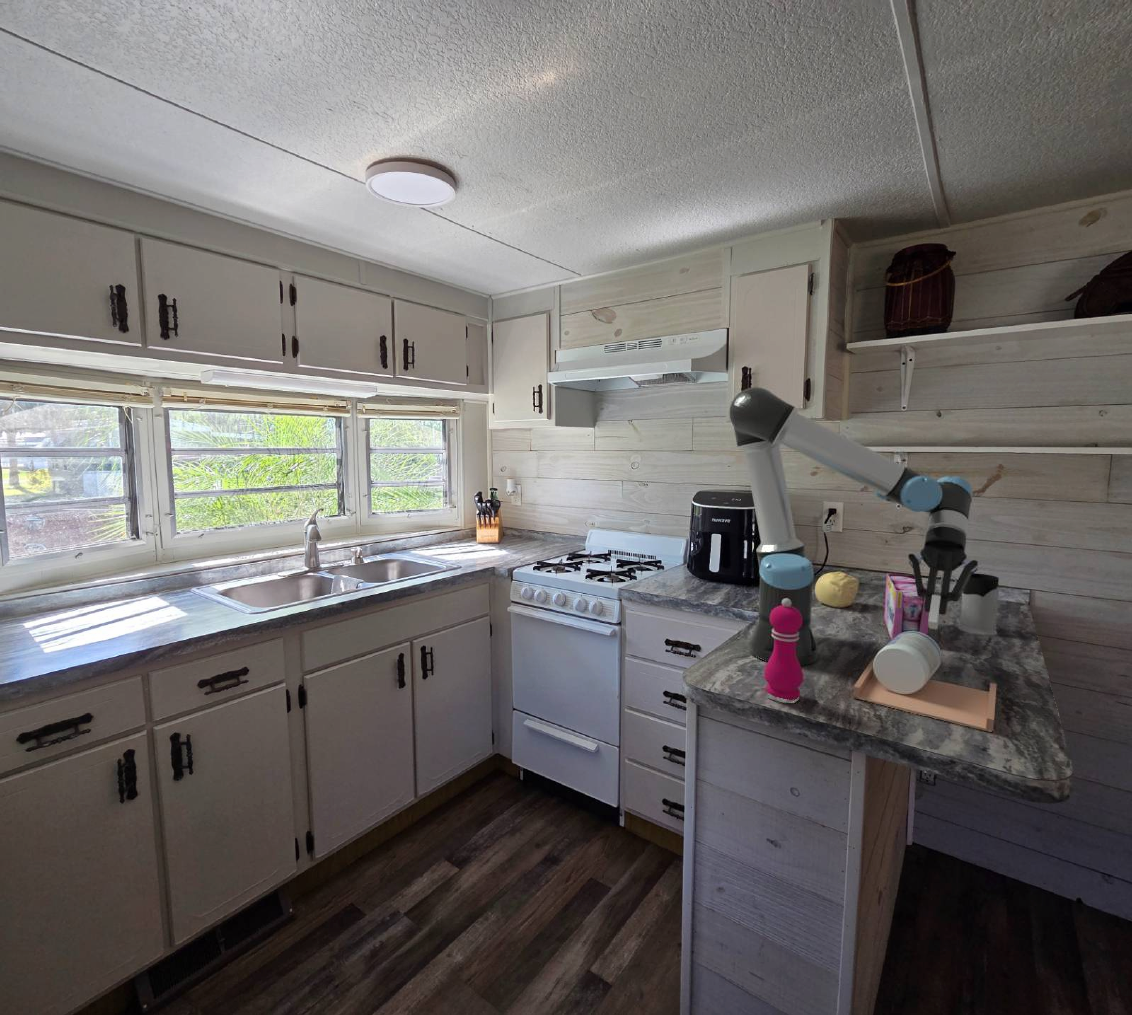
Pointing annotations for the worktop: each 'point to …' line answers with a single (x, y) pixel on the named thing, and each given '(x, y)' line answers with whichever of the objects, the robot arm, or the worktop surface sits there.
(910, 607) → the gum box
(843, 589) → the sculpture
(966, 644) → the worktop surface
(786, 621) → the pepper mill
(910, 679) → the supplement tub
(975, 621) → the glass holder
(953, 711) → the tan shallow tray
